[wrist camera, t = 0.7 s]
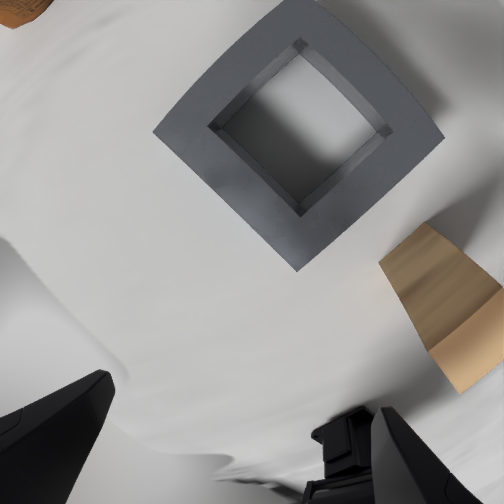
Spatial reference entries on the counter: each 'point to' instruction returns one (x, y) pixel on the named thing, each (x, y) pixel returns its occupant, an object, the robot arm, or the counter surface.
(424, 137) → the block
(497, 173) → the counter surface
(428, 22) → the counter surface
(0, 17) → the pancake mix bag
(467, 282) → the oak peg
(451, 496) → the robot arm
